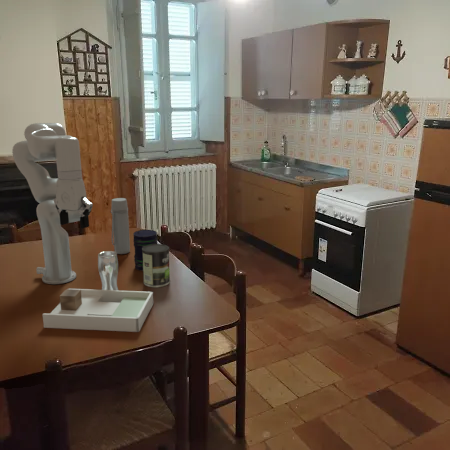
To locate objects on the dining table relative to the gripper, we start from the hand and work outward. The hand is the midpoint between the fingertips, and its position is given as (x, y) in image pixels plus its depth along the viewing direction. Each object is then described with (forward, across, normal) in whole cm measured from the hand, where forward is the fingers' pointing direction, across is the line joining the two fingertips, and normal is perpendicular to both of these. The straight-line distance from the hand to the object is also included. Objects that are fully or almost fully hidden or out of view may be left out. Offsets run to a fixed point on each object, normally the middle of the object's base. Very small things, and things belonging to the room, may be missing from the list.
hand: (74, 225), depth 151 cm
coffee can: (+27, +13, +26) cm, 40 cm away
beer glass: (+27, +4, +10) cm, 29 cm away
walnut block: (+25, +5, -9) cm, 27 cm away
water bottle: (+26, -22, +45) cm, 56 cm away
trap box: (+28, +14, -5) cm, 31 cm away
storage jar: (+27, -1, +37) cm, 46 cm away
